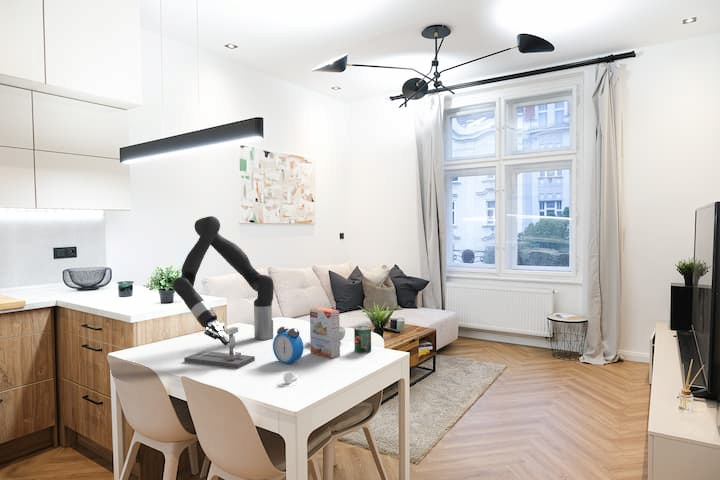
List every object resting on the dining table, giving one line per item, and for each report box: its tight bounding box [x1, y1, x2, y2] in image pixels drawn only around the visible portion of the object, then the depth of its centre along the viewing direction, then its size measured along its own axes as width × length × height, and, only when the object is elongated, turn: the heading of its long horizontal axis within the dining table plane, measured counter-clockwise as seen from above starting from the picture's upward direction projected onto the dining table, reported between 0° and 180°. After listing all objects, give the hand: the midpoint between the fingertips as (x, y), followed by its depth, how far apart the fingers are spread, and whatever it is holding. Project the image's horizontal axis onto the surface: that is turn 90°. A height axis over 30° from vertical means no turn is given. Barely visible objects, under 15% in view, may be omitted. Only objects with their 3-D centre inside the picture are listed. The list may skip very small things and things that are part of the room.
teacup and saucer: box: [277, 371, 300, 388], centre depth 171 cm, size 9×8×4 cm
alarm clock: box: [272, 326, 304, 365], centre depth 197 cm, size 13×6×15 cm, turn 54°
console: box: [183, 350, 256, 370], centre depth 199 cm, size 28×12×2 cm, turn 68°
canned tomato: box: [353, 325, 372, 354], centre depth 213 cm, size 8×8×11 cm
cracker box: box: [309, 306, 341, 359], centre depth 207 cm, size 14×6×21 cm, turn 47°
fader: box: [223, 326, 242, 360], centre depth 196 cm, size 5×6×13 cm
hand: (227, 343), depth 197 cm, fingers closed
